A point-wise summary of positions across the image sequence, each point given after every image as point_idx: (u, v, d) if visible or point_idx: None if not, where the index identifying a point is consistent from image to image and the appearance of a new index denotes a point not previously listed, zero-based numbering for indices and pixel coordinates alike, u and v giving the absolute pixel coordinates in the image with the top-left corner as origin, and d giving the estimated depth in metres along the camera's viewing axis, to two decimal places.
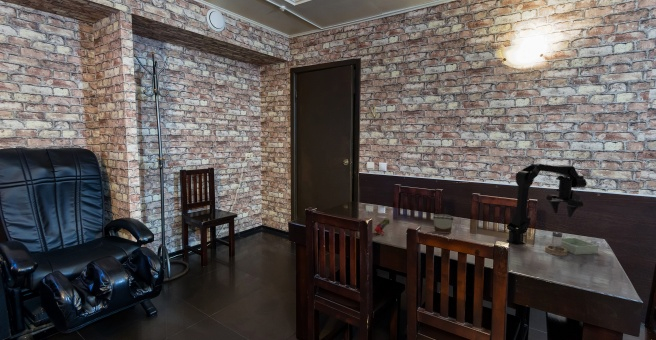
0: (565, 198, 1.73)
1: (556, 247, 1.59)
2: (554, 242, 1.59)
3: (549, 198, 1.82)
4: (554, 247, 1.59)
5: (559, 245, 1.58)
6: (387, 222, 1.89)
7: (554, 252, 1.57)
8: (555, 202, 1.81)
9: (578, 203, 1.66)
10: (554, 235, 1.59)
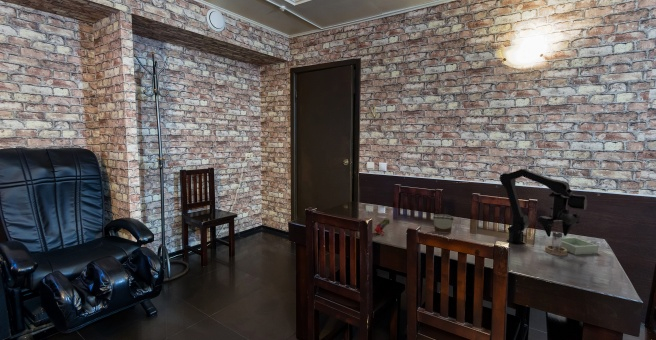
0: (551, 215, 1.60)
1: (556, 247, 1.59)
2: (554, 242, 1.59)
3: None
4: (554, 247, 1.59)
5: (559, 245, 1.58)
6: (387, 222, 1.89)
7: (554, 252, 1.57)
8: (566, 223, 1.60)
9: (541, 219, 1.58)
10: (554, 235, 1.59)
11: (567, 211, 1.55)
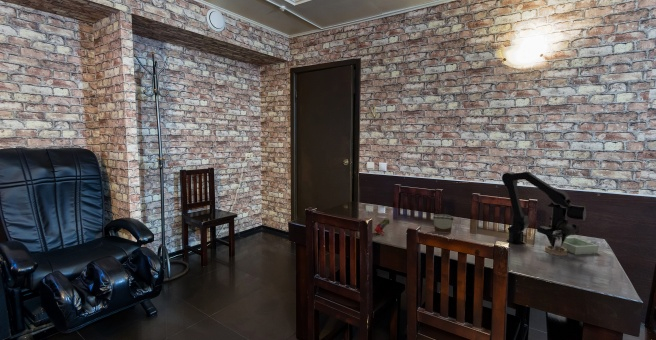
0: (551, 225, 1.60)
1: (556, 247, 1.59)
2: None
3: None
4: (554, 247, 1.59)
5: (559, 245, 1.58)
6: (387, 222, 1.89)
7: (554, 252, 1.57)
8: None
9: (540, 229, 1.58)
10: None
11: (566, 221, 1.56)
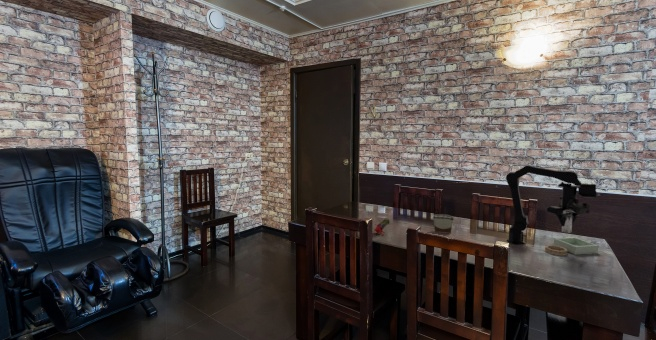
0: (561, 205, 1.61)
1: (566, 227, 1.59)
2: None
3: None
4: (564, 227, 1.59)
5: (570, 224, 1.58)
6: (387, 222, 1.89)
7: (554, 252, 1.57)
8: None
9: (550, 209, 1.59)
10: None
11: (577, 200, 1.56)
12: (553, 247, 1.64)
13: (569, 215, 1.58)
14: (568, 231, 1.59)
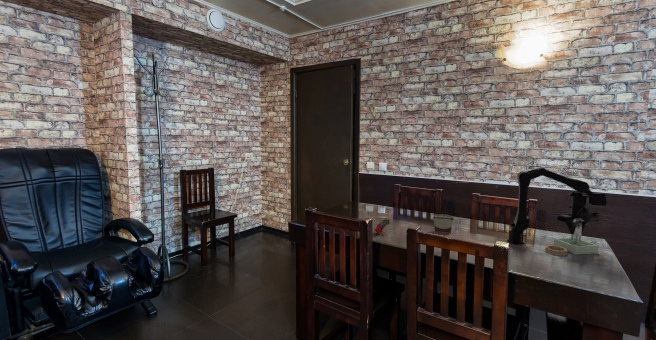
0: (570, 214, 1.63)
1: (576, 235, 1.62)
2: (574, 230, 1.62)
3: None
4: (574, 235, 1.62)
5: (579, 233, 1.61)
6: (387, 222, 1.89)
7: (554, 252, 1.57)
8: None
9: (561, 218, 1.61)
10: None
11: (586, 209, 1.59)
12: (553, 247, 1.64)
13: (579, 224, 1.61)
14: (577, 239, 1.62)
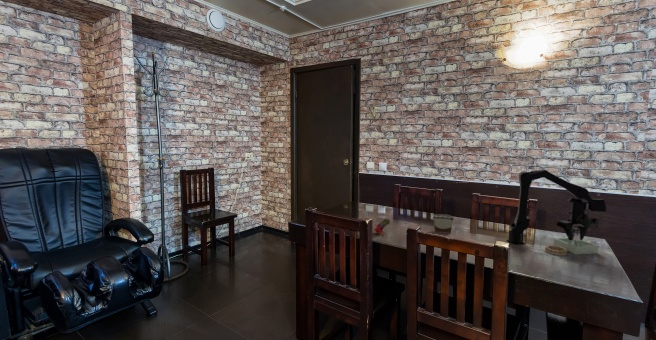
0: (570, 220, 1.64)
1: (575, 243, 1.62)
2: (572, 238, 1.63)
3: None
4: (573, 243, 1.63)
5: (578, 241, 1.62)
6: (387, 222, 1.89)
7: (554, 252, 1.57)
8: (582, 227, 1.64)
9: (560, 224, 1.62)
10: None
11: (586, 215, 1.59)
12: (553, 247, 1.64)
13: (577, 232, 1.61)
14: None
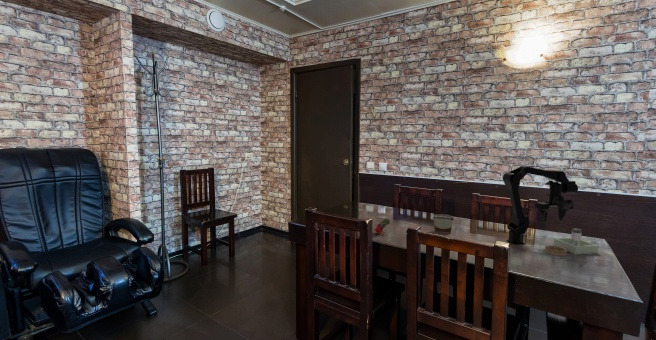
0: (548, 202, 1.74)
1: (575, 243, 1.62)
2: (573, 238, 1.63)
3: None
4: (573, 243, 1.63)
5: (579, 241, 1.62)
6: (387, 222, 1.89)
7: (554, 252, 1.57)
8: (561, 209, 1.74)
9: (538, 205, 1.72)
10: (574, 231, 1.62)
11: (562, 197, 1.69)
12: (553, 247, 1.64)
13: (578, 232, 1.61)
14: None
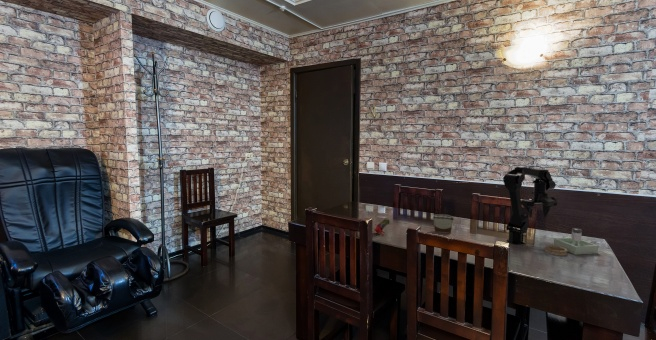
0: (533, 199, 1.82)
1: (576, 243, 1.62)
2: (574, 238, 1.62)
3: None
4: (574, 243, 1.63)
5: (579, 241, 1.62)
6: (387, 222, 1.89)
7: (554, 252, 1.57)
8: (545, 206, 1.82)
9: (523, 202, 1.80)
10: (574, 231, 1.62)
11: (546, 195, 1.77)
12: (553, 247, 1.64)
13: (579, 232, 1.61)
14: None
